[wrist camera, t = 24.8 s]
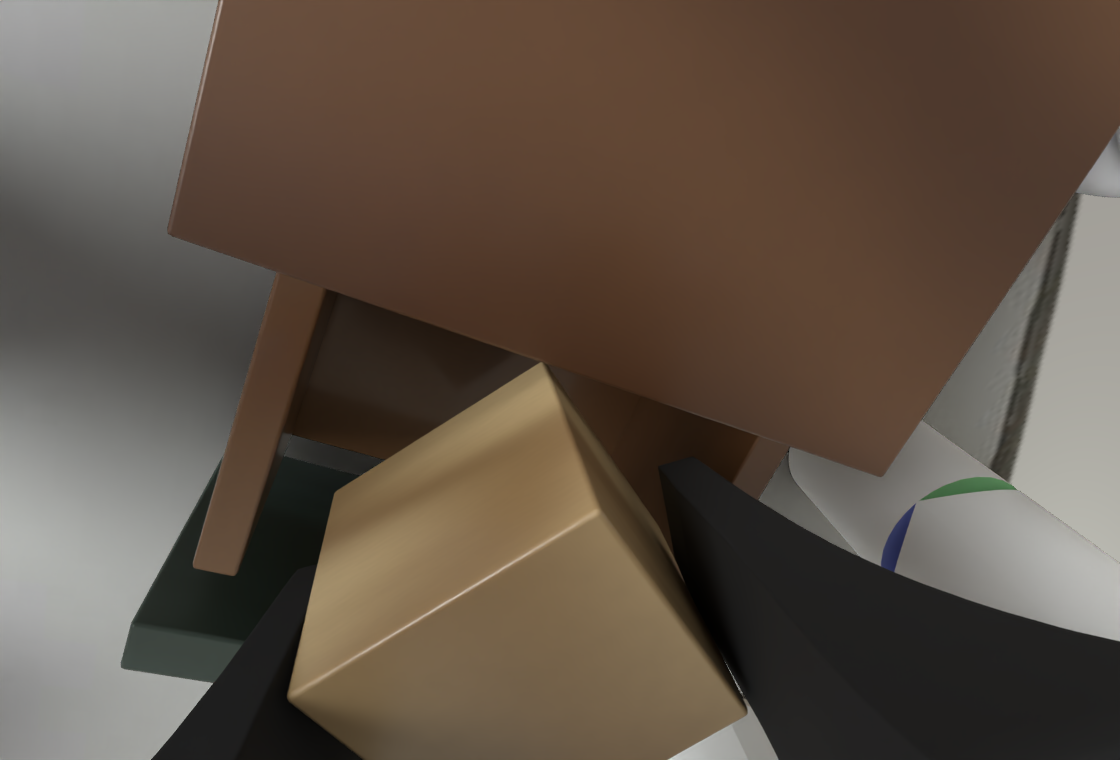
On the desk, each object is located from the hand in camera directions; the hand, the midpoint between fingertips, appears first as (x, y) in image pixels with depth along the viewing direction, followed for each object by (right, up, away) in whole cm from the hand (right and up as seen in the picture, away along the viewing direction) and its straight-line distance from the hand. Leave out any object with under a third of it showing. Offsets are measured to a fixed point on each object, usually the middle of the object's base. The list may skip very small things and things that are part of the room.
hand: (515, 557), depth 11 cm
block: (0, +1, +1) cm, 1 cm away
